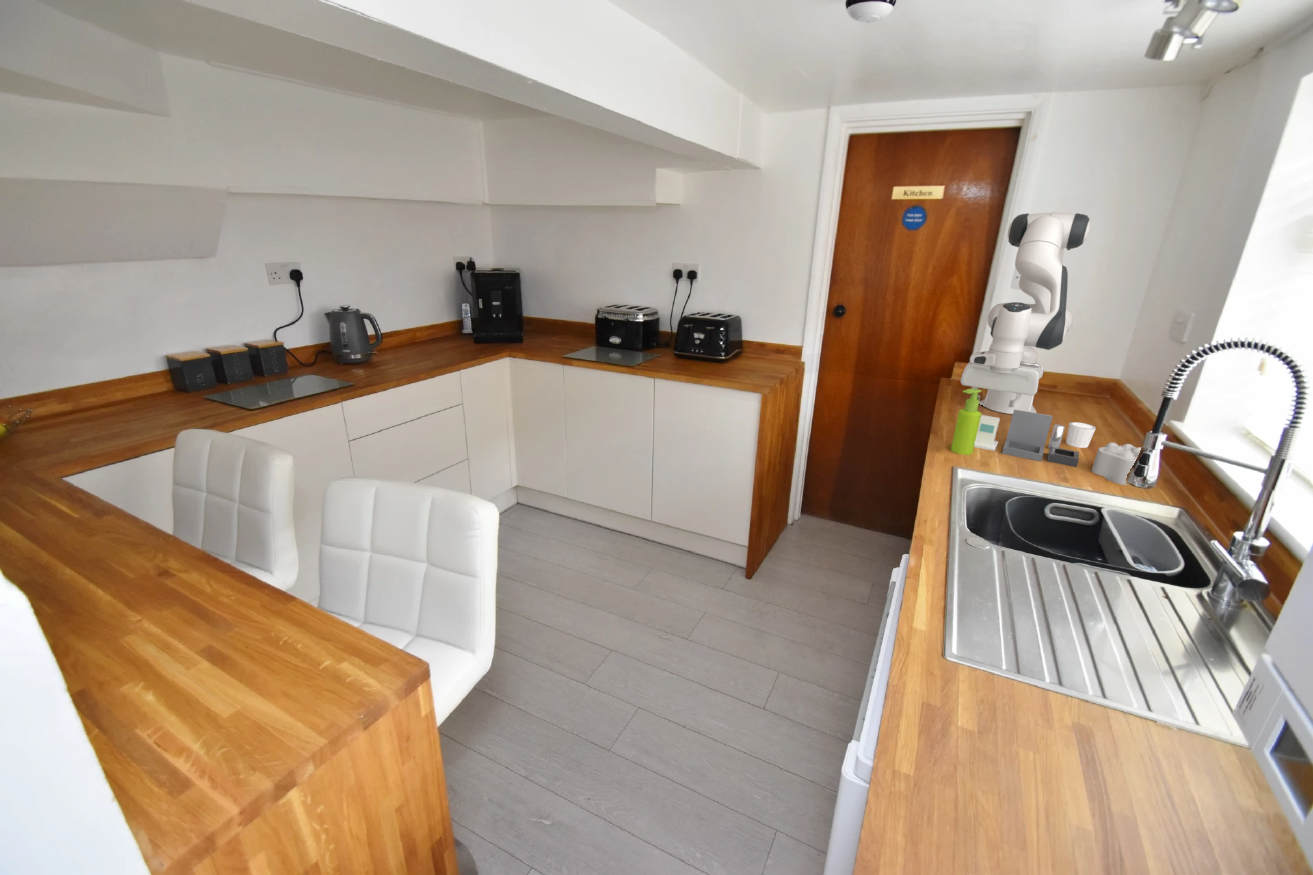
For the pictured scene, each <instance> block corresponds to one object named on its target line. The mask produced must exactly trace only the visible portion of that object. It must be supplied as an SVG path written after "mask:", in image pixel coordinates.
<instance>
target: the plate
mask: <svg viewBox="0 0 1313 875" xmlns="http://www.w3.org/2000/svg"><path fill="white" fill-rule="evenodd" d="M998 444H999V441H998V440H995V441H994V444H993V446H992V447H990V446H985V445H980V444H974V448H977V449H982V450H988V451H994V452H995V451H996V449H997V446H998Z"/></svg>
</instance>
